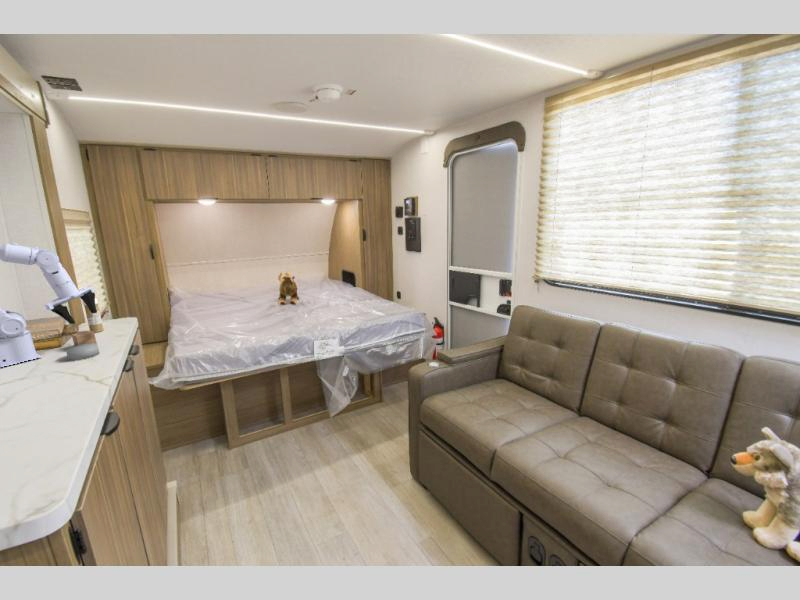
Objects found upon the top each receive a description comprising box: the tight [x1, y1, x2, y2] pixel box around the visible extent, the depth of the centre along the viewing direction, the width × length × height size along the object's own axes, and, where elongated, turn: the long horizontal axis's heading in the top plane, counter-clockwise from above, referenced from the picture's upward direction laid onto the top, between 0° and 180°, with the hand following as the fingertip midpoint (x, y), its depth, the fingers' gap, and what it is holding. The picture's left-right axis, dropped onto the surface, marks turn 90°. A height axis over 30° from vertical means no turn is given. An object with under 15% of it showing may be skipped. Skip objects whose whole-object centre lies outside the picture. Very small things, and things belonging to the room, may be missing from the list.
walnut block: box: [71, 330, 98, 347], centre depth 131 cm, size 5×5×5 cm
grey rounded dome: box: [65, 343, 100, 361], centre depth 122 cm, size 8×8×3 cm
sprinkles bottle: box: [82, 297, 104, 334], centre depth 147 cm, size 5×5×13 cm
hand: (83, 318), depth 130 cm, fingers open, 7 cm apart
